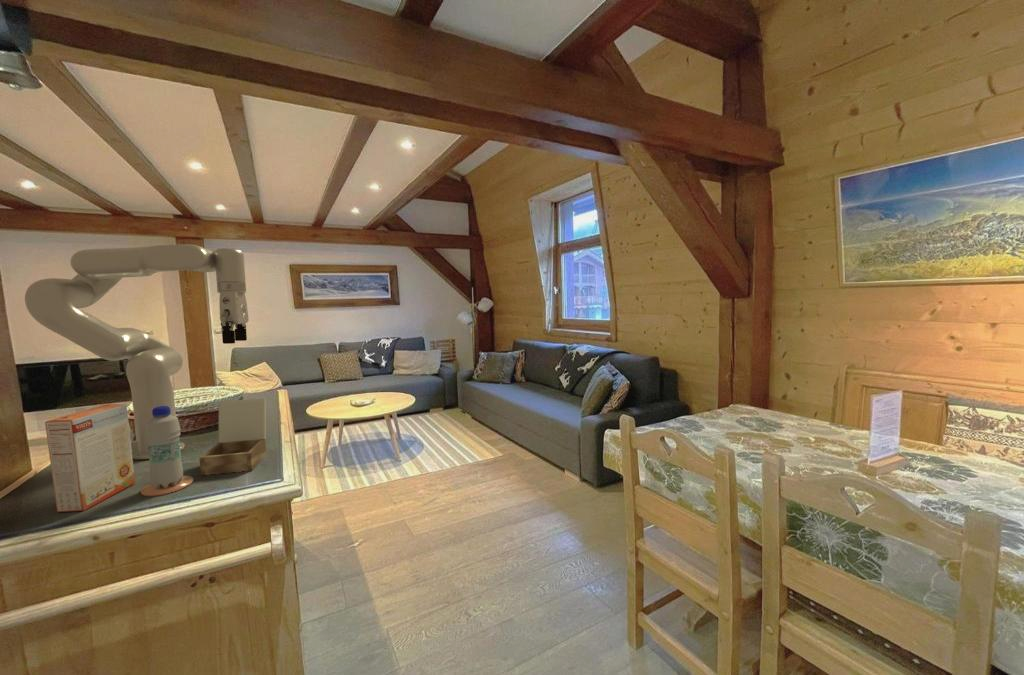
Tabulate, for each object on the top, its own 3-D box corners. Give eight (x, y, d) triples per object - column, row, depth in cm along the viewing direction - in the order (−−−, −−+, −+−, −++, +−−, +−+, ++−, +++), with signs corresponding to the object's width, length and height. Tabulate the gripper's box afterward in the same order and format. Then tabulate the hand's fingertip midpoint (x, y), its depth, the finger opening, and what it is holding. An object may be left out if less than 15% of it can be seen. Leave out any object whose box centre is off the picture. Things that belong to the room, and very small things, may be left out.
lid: (219, 459, 118) (215, 403, 117) (225, 455, 122) (221, 400, 120) (265, 455, 121) (262, 400, 120) (269, 450, 125) (266, 397, 124)
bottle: (191, 480, 103) (185, 403, 101) (164, 492, 97) (157, 410, 95) (170, 477, 105) (164, 402, 103) (142, 489, 98) (134, 409, 96)
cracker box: (111, 484, 102) (103, 403, 100) (136, 483, 103) (129, 403, 101) (53, 513, 88) (43, 420, 87) (83, 512, 89) (73, 419, 87)
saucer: (130, 498, 95) (130, 496, 95) (155, 480, 104) (155, 478, 104) (181, 493, 97) (180, 490, 97) (200, 476, 107) (200, 473, 107)
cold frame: (200, 476, 107) (199, 457, 107) (220, 459, 119) (219, 442, 118) (252, 470, 110) (250, 453, 110) (266, 454, 122) (265, 438, 121)
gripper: (234, 287, 121) (238, 344, 122) (254, 289, 137) (257, 339, 139) (205, 287, 119) (209, 345, 120) (229, 289, 135) (232, 340, 137)
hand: (235, 342), depth 129 cm, fingers open, 9 cm apart
